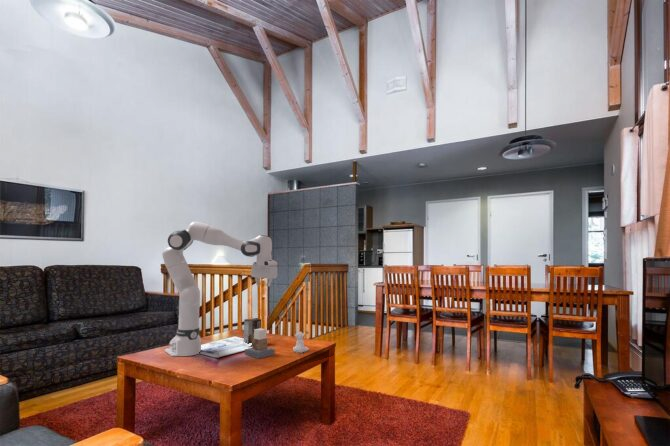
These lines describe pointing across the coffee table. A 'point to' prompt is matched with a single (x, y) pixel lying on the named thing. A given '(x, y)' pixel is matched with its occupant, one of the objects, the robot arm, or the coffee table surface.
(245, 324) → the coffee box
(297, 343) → the white creature statuette
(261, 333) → the cream block
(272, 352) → the base
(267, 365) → the coffee table surface
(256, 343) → the walnut block
